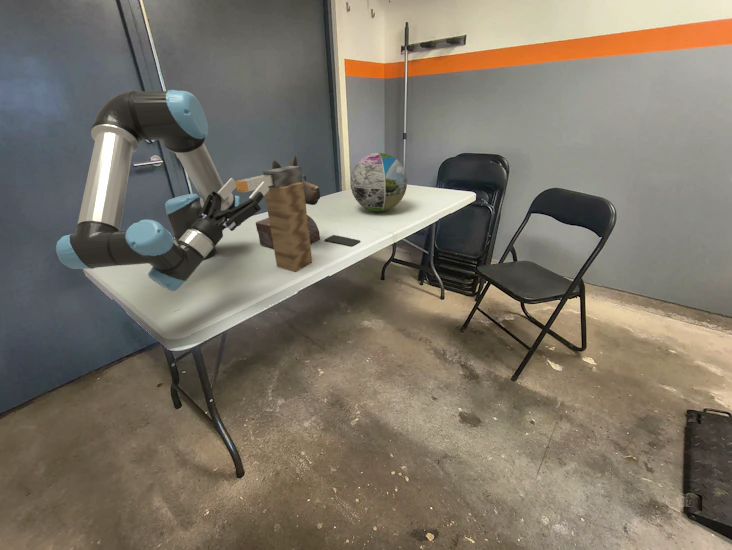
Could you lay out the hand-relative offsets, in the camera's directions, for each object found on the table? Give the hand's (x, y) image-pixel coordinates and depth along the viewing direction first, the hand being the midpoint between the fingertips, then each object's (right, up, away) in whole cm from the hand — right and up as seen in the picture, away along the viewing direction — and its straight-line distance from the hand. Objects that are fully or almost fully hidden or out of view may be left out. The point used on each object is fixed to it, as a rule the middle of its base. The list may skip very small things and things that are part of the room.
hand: (249, 183), depth 95 cm
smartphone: (+24, -13, +45) cm, 53 cm away
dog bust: (+5, -14, +43) cm, 46 cm away
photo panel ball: (+41, +9, +86) cm, 96 cm away
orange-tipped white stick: (+4, +2, +7) cm, 8 cm away
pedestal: (+8, -23, +25) cm, 35 cm away
